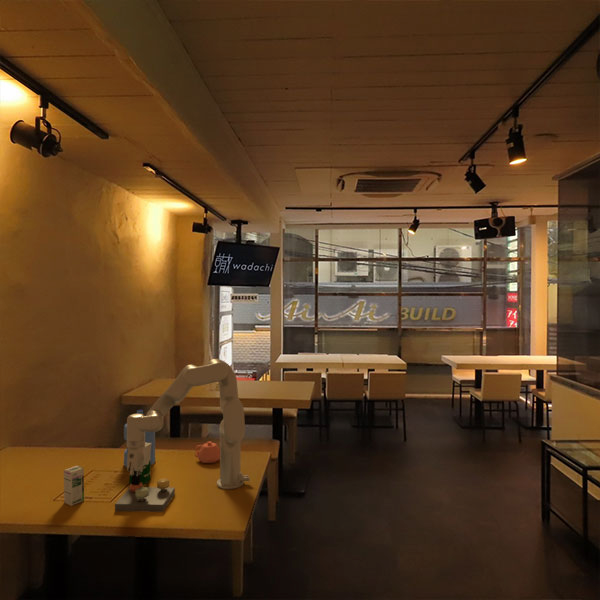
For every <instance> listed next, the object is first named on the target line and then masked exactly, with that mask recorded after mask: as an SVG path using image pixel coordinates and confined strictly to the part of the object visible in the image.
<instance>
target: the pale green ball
mask: <svg viewBox="0 0 600 600" xmlns="http://www.w3.org/2000/svg"><path fill="white" fill-rule="evenodd" d="M147 487H148V486H143V487H141V488H138V489H136V498H140V502H144V498H145V497H147V496H148V495H149V489H148V488H147Z"/></svg>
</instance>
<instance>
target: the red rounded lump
mask: <svg viewBox="0 0 600 600" xmlns="http://www.w3.org/2000/svg"><path fill="white" fill-rule="evenodd" d="M141 487H144V486H143V483H142V482H140V484H139V485H132V483H131V484H130V485H129V488H130V491H131V492H136V489H138V488H141Z"/></svg>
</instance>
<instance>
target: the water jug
mask: <svg viewBox="0 0 600 600" xmlns="http://www.w3.org/2000/svg"><path fill="white" fill-rule="evenodd" d="M143 412H144V410H143V409H138V410H136V414H143V415H144V413H143ZM123 439H124V440H125V442H127V423H125V424H124V426H123ZM145 442H147V443H152V444H151V453H150V466H152V465H154V463H156V432H145ZM127 456H128V448H127V447H126V449H125V450H124V451H123V465H124V467H125V468H127Z"/></svg>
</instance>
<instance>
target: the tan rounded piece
mask: <svg viewBox="0 0 600 600" xmlns="http://www.w3.org/2000/svg"><path fill="white" fill-rule="evenodd" d="M156 484H157V485H156V487H157V488H158V489H161V492H165V488H168V487H170V479H169V478H165V477H164V478H160V479H158V480H157V481H156Z"/></svg>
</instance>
